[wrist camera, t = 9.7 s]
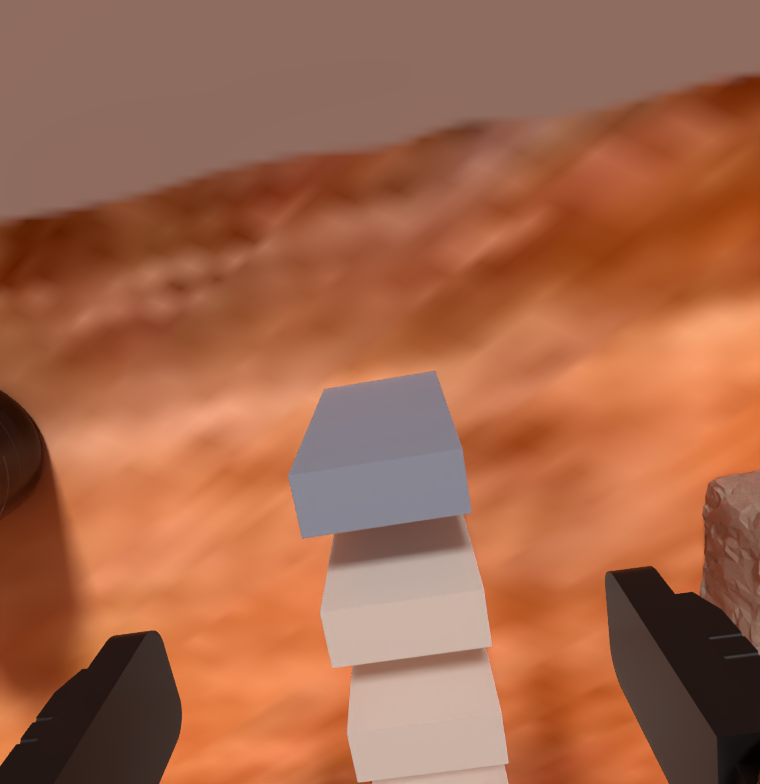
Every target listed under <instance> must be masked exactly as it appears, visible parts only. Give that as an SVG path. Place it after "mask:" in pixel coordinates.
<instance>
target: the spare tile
mask: <svg viewBox="0 0 760 784" xmlns="http://www.w3.org/2000/svg"><path fill="white" fill-rule="evenodd" d="M288 477H289V482H290V486H291V491H292V495H293V500H294V504H295V509H296V513H297V517H298V522H299V526H300V531H301V535H302V538H309V537H316V536H322V535H329V534H336V533H342V532H349V531H356V530H362V529H369V528H375V527H382V526H389V525H395V524H402V523H409V522H415V521H422V520H429V519H435V518H442V517H449V516H455V515H462V514H468V513H472V512H471V505H470V498H469V491H468V485H467V478H466V471H465V464H464V457H463V450H462V446H461V444H460V441H459V438H458V435H457V432H456V429H455V426H454V423H453V420H452V418H451V415H450V412H449V409H448V406H447V403H446V400H445V397H444V395H443V392H442V389H441V386H440V383H439V380H438V377H437V374H436V372H435V371H432V372H426V373H420V374H414V375H407V376H401V377H395V378H389V379H383V380H377V381H371V382H365V383H359V384H353V385H347V386H340V387H334V388H328V389H324V391H323V393H322V396H321V398H320V400H319V403H318V405H317V408H316V410H315V412H314V415H313V417H312V420H311V422H310V425H309V427H308V429H307V432H306V434H305V437H304V439H303V441H302V444H301V446H300V449H299V451H298V453H297V456H296V458H295V461H294V463H293V465H292V468H291V470H290V473H289V475H288Z"/></svg>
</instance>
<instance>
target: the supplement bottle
mask: <svg viewBox="0 0 760 784" xmlns="http://www.w3.org/2000/svg"><path fill="white" fill-rule="evenodd" d="M41 469H42V447H41V443H40V439H39V436H38V433H37V431H36V428H35V426H34V424H33V422H32V421H31V419H30V418H29V416H28V415H27V413H26V412H25V411H24V410H23V408H22V407H21V406H20V405H19V404H18V403H17V402H16V401H14V400H13V399H12V398H11V397H10V396H8V395H7V394H6V393H4V392H2V391H1V390H0V520H2V519H3V518H5V517H6V516H7V515H8V514H10V513H11V512H12V511H13V510H15V509H16V508H17V507H19V506H20V505H21V504H22V503H23V502H24V501H25V500H26V499H27V498H28V497H29V495H30V494H31V493H32V491H33V490H34V488H35V486H36V484H37V482H38V480H39V477H40V473H41Z"/></svg>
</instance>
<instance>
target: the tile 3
mask: <svg viewBox="0 0 760 784" xmlns="http://www.w3.org/2000/svg"><path fill="white" fill-rule="evenodd" d="M347 736H348V741H349V745H350V750H351V754H352V759H353V763H354V768H355V772H356V777H357V781H358V783H359V782H367V781H375V780H383V779H391V778H399V777H407V776H414V775H422V774H430V773H438V772H446V771H454V770H462V769H470V768H478V767H486V766H494V765H502V764H509V761H508V754H507V747H506V740H505V733H504V726H503V719H502V712H501V708H500V704H499V700H498V696H497V692H496V687H495V683H494V679H493V675H492V671H491V666H490V662H489V658H488V654H487V650H486V647H484V648H477V649H470V650H462V651H455V652H448V653H440V654H433V655H426V656H418V657H411V658H404V659H396V660H389V661H382V662H375V663H367V664H360V665H353V666H352V676H351V689H350V701H349V713H348V725H347Z"/></svg>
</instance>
